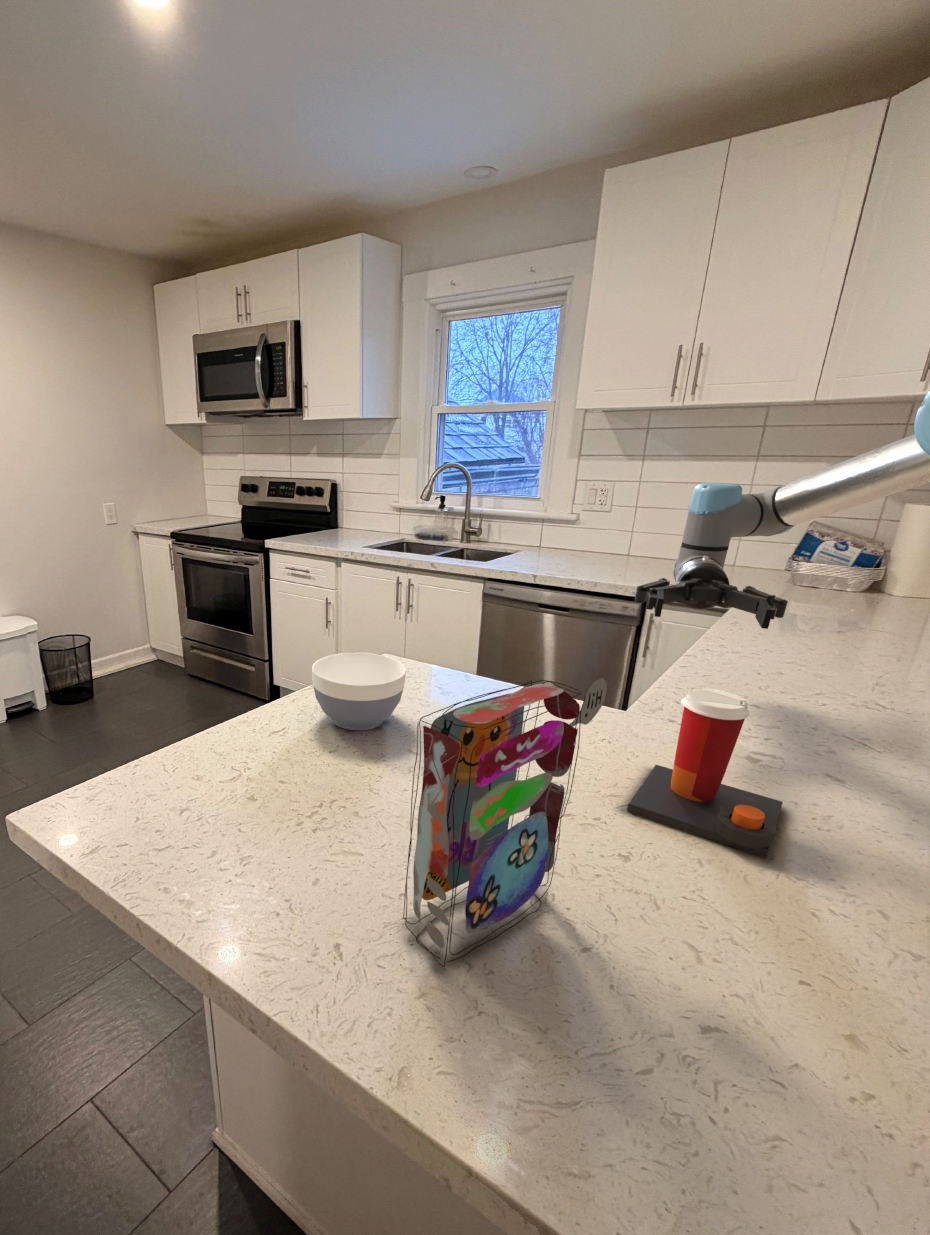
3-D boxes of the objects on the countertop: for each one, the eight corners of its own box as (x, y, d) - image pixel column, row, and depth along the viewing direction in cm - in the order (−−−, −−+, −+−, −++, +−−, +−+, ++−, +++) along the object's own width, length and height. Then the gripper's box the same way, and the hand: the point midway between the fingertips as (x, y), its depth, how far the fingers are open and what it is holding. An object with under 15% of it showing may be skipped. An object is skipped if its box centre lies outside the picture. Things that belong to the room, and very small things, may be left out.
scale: (780, 809, 87) (787, 790, 86) (765, 863, 76) (772, 842, 75) (653, 771, 96) (658, 753, 95) (624, 814, 85) (628, 795, 84)
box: (552, 846, 79) (585, 658, 69) (597, 872, 74) (639, 675, 64) (400, 932, 65) (415, 714, 55) (444, 971, 60) (469, 740, 51)
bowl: (293, 716, 112) (292, 665, 109) (358, 694, 122) (359, 646, 118) (355, 749, 101) (357, 693, 98) (422, 721, 111) (425, 669, 108)
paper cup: (727, 787, 89) (753, 695, 84) (721, 812, 84) (750, 715, 78) (665, 771, 94) (687, 682, 88) (656, 794, 88) (679, 700, 82)
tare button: (762, 822, 79) (766, 810, 78) (759, 834, 77) (763, 822, 76) (733, 813, 81) (736, 801, 80) (728, 824, 79) (732, 812, 78)
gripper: (626, 555, 113) (622, 578, 95) (794, 568, 103) (824, 597, 86) (618, 597, 116) (613, 627, 98) (781, 613, 106) (808, 650, 88)
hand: (711, 613), depth 92 cm, fingers open, 13 cm apart
